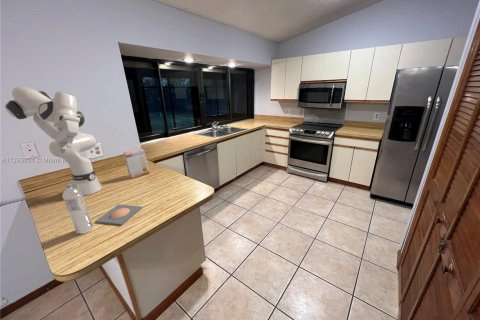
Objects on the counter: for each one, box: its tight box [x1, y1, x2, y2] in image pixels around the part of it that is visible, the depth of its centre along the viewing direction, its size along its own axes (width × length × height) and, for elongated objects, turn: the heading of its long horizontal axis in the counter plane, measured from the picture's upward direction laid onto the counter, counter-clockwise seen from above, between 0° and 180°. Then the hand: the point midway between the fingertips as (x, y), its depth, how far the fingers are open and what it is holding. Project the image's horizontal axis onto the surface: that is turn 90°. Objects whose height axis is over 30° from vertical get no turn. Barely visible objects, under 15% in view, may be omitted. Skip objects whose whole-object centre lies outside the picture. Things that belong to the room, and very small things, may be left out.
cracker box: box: [123, 148, 150, 180], centre depth 158 cm, size 14×6×21 cm, turn 135°
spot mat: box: [94, 204, 143, 226], centre depth 109 cm, size 16×16×1 cm
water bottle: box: [62, 183, 94, 235], centre depth 94 cm, size 7×7×25 cm
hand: (65, 149), depth 94 cm, fingers open, 8 cm apart
